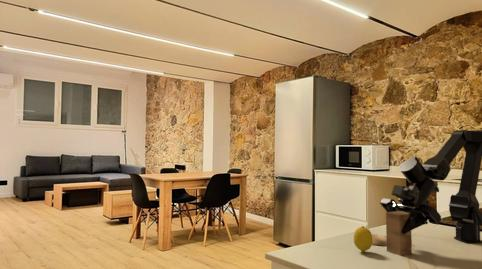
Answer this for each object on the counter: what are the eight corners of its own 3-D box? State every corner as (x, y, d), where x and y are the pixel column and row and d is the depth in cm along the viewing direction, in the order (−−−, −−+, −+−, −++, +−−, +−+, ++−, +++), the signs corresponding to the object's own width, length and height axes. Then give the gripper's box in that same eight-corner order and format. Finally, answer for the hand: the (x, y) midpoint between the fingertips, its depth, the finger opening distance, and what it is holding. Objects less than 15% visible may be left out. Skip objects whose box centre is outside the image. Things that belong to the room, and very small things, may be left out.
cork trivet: (384, 236, 127) (384, 234, 127) (400, 245, 116) (400, 242, 116) (354, 237, 126) (354, 234, 126) (368, 245, 115) (368, 242, 115)
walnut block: (398, 249, 111) (397, 211, 112) (411, 253, 107) (410, 213, 107) (386, 251, 109) (386, 212, 110) (399, 255, 105) (399, 215, 105)
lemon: (374, 255, 105) (373, 228, 105) (354, 254, 106) (354, 227, 106) (371, 250, 110) (370, 224, 111) (352, 249, 112) (352, 223, 112)
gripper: (383, 174, 119) (359, 209, 114) (433, 178, 102) (407, 219, 97) (400, 195, 122) (377, 231, 117) (452, 203, 105) (427, 245, 100)
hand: (395, 231), depth 108 cm, fingers closed on walnut block, 5 cm apart
